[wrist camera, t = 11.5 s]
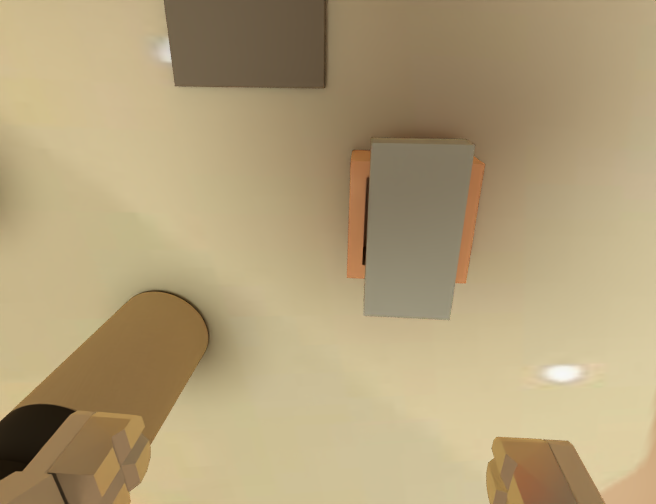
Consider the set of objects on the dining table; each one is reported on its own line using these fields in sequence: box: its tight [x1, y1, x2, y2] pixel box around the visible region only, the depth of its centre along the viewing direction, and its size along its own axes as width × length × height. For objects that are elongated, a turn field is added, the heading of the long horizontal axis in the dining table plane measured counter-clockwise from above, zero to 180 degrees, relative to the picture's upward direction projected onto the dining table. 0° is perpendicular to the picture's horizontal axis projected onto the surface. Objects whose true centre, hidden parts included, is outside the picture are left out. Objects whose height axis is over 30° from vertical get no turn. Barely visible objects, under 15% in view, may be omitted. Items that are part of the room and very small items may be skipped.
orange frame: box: [347, 150, 485, 283], centre depth 28 cm, size 8×8×4 cm
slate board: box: [364, 137, 475, 320], centre depth 25 cm, size 11×6×2 cm, turn 0°
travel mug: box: [0, 292, 208, 480], centre depth 28 cm, size 8×8×18 cm
